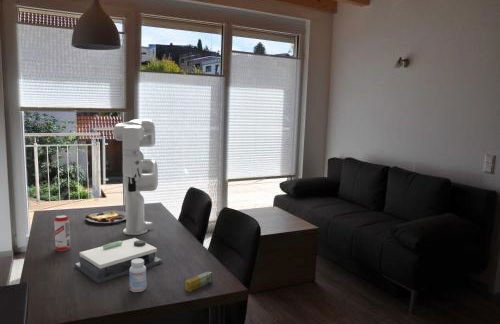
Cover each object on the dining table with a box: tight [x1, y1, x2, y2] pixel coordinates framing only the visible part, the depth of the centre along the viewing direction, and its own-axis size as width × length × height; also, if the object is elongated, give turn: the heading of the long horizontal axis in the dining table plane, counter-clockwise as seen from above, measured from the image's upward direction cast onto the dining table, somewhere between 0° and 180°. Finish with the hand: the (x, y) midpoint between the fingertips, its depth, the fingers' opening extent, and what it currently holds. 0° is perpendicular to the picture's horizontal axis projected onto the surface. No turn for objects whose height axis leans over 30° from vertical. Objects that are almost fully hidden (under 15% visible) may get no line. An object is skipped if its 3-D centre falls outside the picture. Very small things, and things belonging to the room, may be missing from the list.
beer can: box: [53, 214, 71, 252], centre depth 189 cm, size 6×6×16 cm
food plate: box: [84, 210, 126, 224], centre depth 238 cm, size 25×23×4 cm
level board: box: [79, 237, 158, 269], centre depth 174 cm, size 26×18×3 cm
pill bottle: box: [128, 258, 147, 293], centre depth 152 cm, size 6×6×11 cm
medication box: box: [184, 270, 213, 292], centre depth 157 cm, size 12×3×4 cm, turn 139°
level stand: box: [74, 252, 163, 284], centre depth 174 cm, size 29×21×5 cm
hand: (132, 191), depth 193 cm, fingers closed
